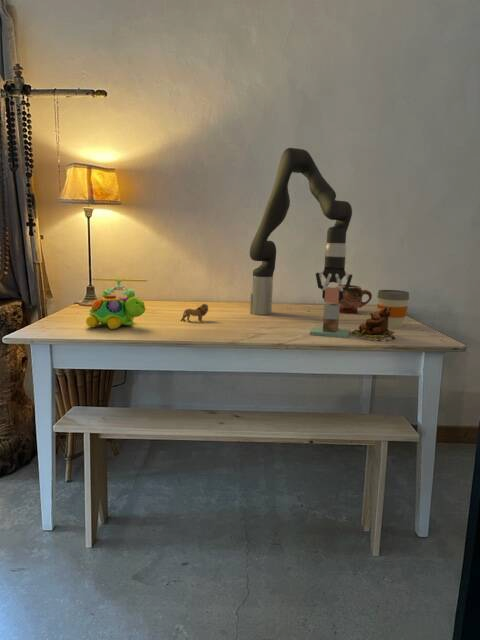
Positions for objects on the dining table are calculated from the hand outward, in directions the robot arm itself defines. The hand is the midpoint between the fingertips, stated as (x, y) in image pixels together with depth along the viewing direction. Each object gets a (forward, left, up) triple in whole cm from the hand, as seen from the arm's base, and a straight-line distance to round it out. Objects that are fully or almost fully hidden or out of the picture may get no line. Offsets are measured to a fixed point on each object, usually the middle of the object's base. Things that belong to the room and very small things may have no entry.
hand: (332, 300), depth 184 cm
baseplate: (0, 0, -13) cm, 13 cm away
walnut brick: (0, 0, -12) cm, 12 cm away
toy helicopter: (-99, +11, -13) cm, 100 cm away
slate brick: (0, 0, -7) cm, 7 cm away
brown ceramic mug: (+3, +50, -13) cm, 51 cm away
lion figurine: (-57, 0, -13) cm, 58 cm away
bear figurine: (+16, +1, -13) cm, 21 cm away
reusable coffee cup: (+22, +24, -13) cm, 35 cm away
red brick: (0, 0, 0) cm, 0 cm away
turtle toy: (-81, -21, -13) cm, 84 cm away
